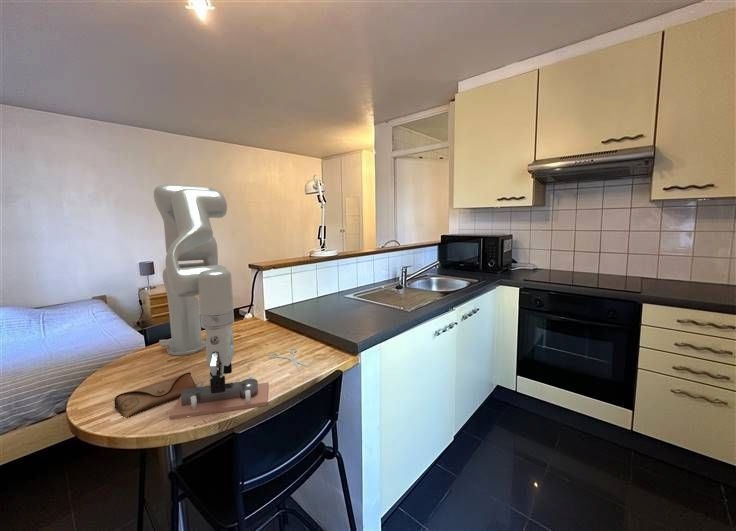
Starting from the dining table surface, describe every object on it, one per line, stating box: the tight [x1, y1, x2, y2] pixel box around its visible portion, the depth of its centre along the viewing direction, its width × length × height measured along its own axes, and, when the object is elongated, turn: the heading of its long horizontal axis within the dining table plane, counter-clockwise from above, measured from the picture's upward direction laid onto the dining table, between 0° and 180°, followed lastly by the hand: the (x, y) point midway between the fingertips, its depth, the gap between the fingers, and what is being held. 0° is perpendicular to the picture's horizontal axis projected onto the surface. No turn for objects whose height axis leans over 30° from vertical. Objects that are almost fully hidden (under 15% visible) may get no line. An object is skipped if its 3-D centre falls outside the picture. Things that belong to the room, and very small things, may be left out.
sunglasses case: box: [113, 372, 197, 419], centre depth 82 cm, size 18×7×7 cm, turn 138°
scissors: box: [264, 347, 313, 372], centre depth 105 cm, size 11×1×20 cm
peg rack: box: [168, 374, 269, 420], centre depth 81 cm, size 22×10×4 cm, turn 105°
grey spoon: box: [181, 378, 259, 406], centre depth 80 cm, size 18×5×3 cm, turn 106°
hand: (222, 382), depth 80 cm, fingers open, 9 cm apart
